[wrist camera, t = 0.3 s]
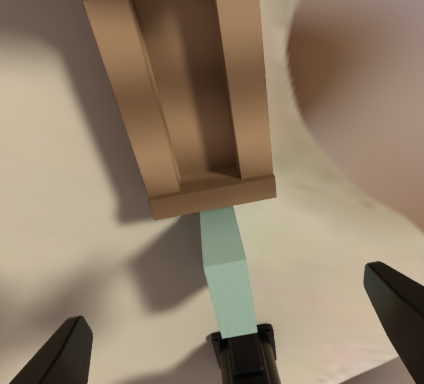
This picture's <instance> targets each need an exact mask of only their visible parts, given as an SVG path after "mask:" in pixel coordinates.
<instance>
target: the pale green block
mask: <svg viewBox="0 0 424 384" xmlns="http://www.w3.org/2000/svg"><path fill="white" fill-rule="evenodd" d="M200 227H201V241H202V255H203V268H204V272H205V275H206V279H207V283H208V287H209V291H210V294H211V298H212V302H213V306H214V309H215V313H216V317H217V321H218V325H219V328H220V332H221V336H222V339H223V338H229V337H235V336H240V335H246V334H251V333H257V332H258V331H257V325H256V319H255V312H254V306H253V300H252V293H251V287H250V281H249V274H248V268H247V262H246V257H245V253H244V249H243V245H242V240H241V236H240V232H239V228H238V224H237V220H236V216H235V212H234V208H233V206H228V207H223V208H217V209H212V210H207V211H202V212H200Z"/></svg>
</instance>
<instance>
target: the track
mask: <svg viewBox="0 0 424 384" xmlns="http://www.w3.org/2000/svg"><path fill="white" fill-rule="evenodd" d="M82 1H83V4H84V7H85V10H86V13H87V16H88V18H89V21H90V24H91V27H92V30H93V33H94V36H95V39H96V42H97V45H98V48H99V51H100V54H101V57H102V60H103V63H104V66H105V69H106V72H107V75H108V77H109V80H110V83H111V86H112V89H113V92H114V95H115V98H116V101H117V104H118V107H119V110H120V113H121V116H122V119H123V122H124V125H125V128H126V131H127V134H128V137H129V139H130V142H131V145H132V148H133V151H134V154H135V157H136V160H137V163H138V166H139V169H140V172H141V175H142V178H143V181H144V184H145V187H146V190H147V193H148V196H149V200H148V202H149V205H150V208H151V211H152V214H153V217H154V220H159V219H165V218H170V217H175V216H180V215H186V214H191V213H196V212H202V211H207V210H212V209H217V208H223V207H228V206H233V205H239V204H244V203H249V202H254V201H260V200H265V199H270V198H276V184H275V176H274V174H273V167H272V154H271V142H270V129H269V116H268V104H267V91H266V78H265V65H264V53H263V40H262V27H261V15H260V2H259V0H82Z"/></svg>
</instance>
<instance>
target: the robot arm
mask: <svg viewBox="0 0 424 384" xmlns="http://www.w3.org/2000/svg"><path fill="white" fill-rule="evenodd" d="M363 283H364V288H365V290H366V292H367V294H368V296H369V299H370V301H371V303H372V305H373V307H374V309H375V311H376V313H377V315H378V318H379V320H380V322H381V324H382V326H383V328H384V330H385V332H386V334H387V336H388V338H389V340H390V341H391V343H392V345H393V346H394V348H395V350H396V351H397V353H398V355H399V356H400V358H401V360H402V361H403V363H404V365H405V366H406V368H407V369H408V371H409V373H410V374H411V376H412V378H413V379H414V381H415V383H416V384H424V286H422V285H421V284H419V283H417V282H416V281H414V280H412V279H410V278H409V277H407V276H405V275H403V274H402V273H400V272H398V271H396V270H395V269H393V268H391V267H389V266H388V265H386V264H384V263H382V262H380V261H376V262H371V263H367V264H366V265H365V271H364V281H363ZM257 331H258V332H257V333H251V334H246V335H240V336H235V337H229V338H223V339H222V336H221V332H220V333H215V334H213V335H212V336H211V339H212V344H213V347H214V350H215V354H216V357H217V360H218V364H219V367H220V370H221V374H222V384H281V382H280V378H279V374H278V370H277V366H276V362H275V361H276V350H275V341H274V333H273V327H272V325H271V324H265V325H260V326H257ZM92 341H93V333H92V330H91V329H90V327H89V325H88V324H87V322H86V320H85V319H84V317H83V316H74V317H70V318H68V319H67V320H66V321H65V322H64V323H63V324H62V325H61V326H60V327H59V328H58V330H57V331H56V332H55V333H54V334H53V335H52V336H51V337H50V338H49V340H48V341H47V342H46V343H45V344H44V345H43V346H42V347H41V349H40V350H39V351H38V352H37V353H36V354H35V355H34V356H33V357H32V359H31V360H30V361H29V362H28V363H27V364H26V365H25V366H24V367H23V369H22V370H21V371H20V372H19V373H18V374H17V375H16V376H15V377H14V379H13V380H12V381H11V382H10V383H9V384H87V383H88V375H89V366H90V358H91V350H92Z"/></svg>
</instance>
